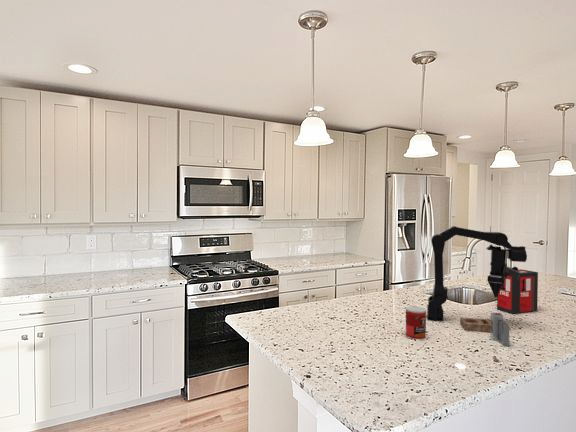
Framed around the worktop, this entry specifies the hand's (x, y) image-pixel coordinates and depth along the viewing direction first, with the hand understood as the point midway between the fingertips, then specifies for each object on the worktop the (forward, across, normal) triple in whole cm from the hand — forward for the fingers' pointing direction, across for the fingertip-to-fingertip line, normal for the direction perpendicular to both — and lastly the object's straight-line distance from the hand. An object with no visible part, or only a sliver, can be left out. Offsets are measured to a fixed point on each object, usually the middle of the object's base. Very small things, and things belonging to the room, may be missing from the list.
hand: (497, 295), depth 161 cm
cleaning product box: (+13, +32, -6) cm, 35 cm away
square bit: (+13, -20, -2) cm, 24 cm away
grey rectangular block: (+13, -25, -5) cm, 28 cm away
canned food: (+14, -35, +25) cm, 46 cm away
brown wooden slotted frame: (+13, -11, +6) cm, 18 cm away
